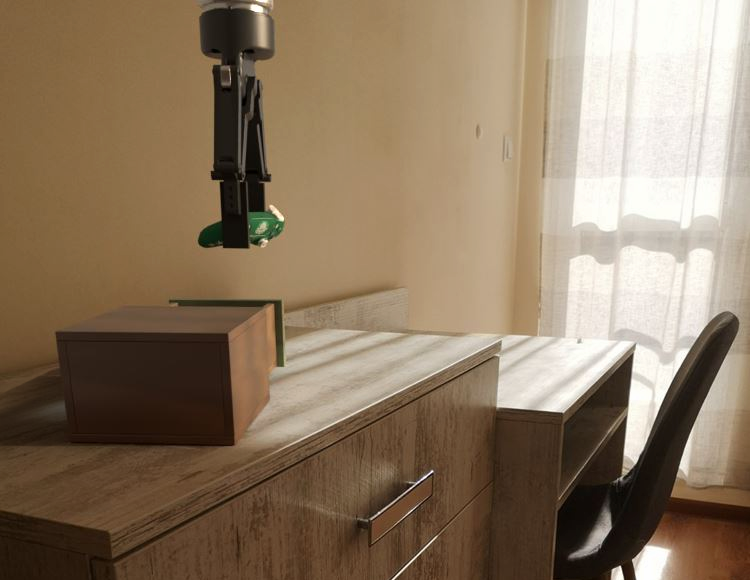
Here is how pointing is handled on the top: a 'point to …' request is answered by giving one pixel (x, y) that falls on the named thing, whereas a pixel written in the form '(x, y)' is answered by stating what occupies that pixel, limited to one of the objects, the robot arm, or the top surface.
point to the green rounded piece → (260, 229)
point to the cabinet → (165, 374)
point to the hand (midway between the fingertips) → (245, 245)
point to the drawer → (272, 317)
